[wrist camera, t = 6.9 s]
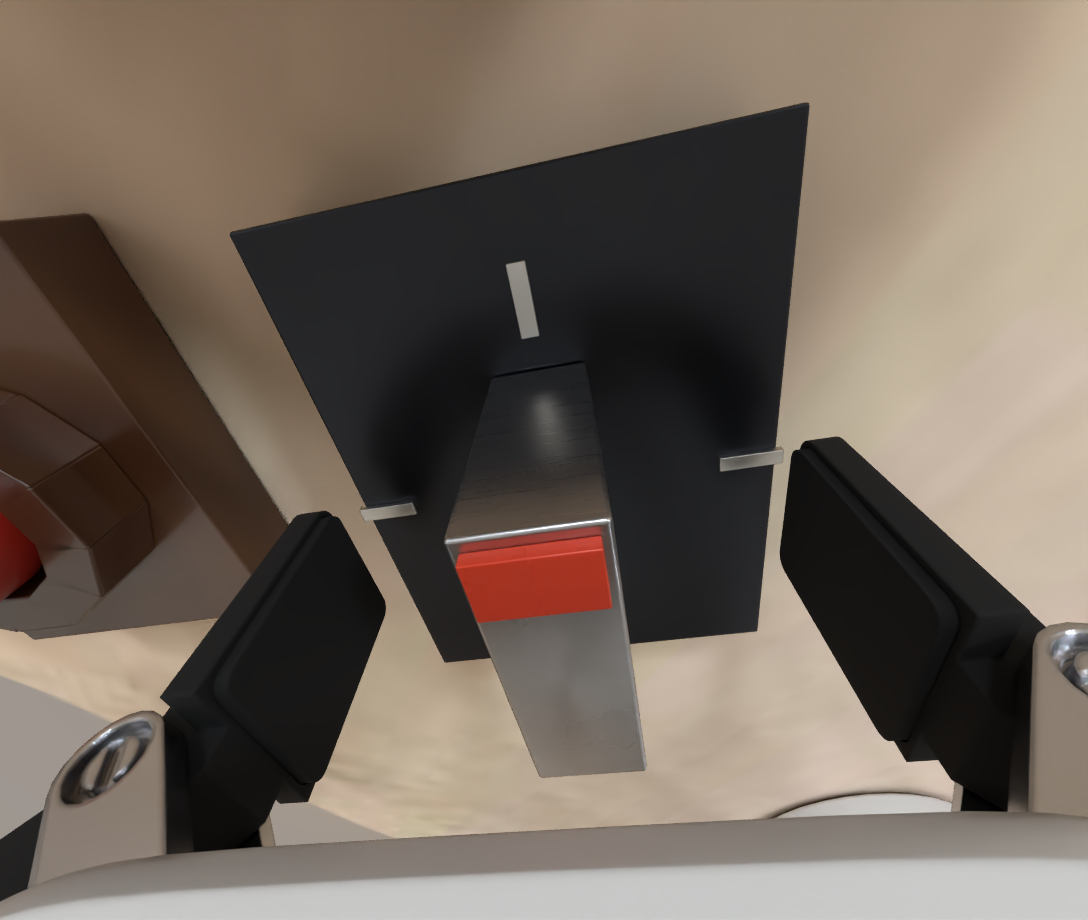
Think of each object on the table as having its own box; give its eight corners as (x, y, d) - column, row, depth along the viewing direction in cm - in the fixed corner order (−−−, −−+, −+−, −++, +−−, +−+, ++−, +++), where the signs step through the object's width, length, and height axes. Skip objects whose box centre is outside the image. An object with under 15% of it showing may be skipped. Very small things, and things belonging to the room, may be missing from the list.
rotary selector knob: (615, 568, 12) (650, 787, 8) (543, 576, 13) (538, 794, 8) (585, 360, 9) (616, 534, 5) (490, 377, 9) (435, 556, 5)
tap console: (733, 570, 16) (763, 636, 14) (455, 603, 17) (440, 668, 15) (756, 115, 9) (823, 97, 7) (289, 220, 10) (215, 234, 8)
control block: (311, 560, 16) (246, 664, 13) (90, 589, 17) (-25, 693, 14) (89, 212, 10) (-140, 232, 7) (-226, 287, 11) (-561, 337, 8)
